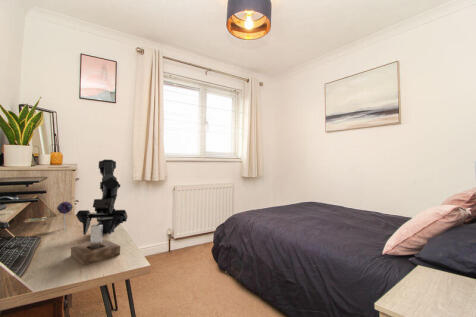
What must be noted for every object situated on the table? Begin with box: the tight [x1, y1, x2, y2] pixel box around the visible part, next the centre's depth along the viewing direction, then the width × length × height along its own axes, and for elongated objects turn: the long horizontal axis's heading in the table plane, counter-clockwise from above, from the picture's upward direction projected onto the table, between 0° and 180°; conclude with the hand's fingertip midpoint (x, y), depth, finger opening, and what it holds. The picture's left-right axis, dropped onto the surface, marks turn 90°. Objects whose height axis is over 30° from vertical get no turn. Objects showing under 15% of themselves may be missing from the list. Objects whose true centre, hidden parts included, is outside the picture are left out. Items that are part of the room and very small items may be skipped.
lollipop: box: [57, 201, 74, 230], centre depth 127 cm, size 7×7×15 cm
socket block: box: [70, 239, 121, 266], centre depth 92 cm, size 13×13×4 cm
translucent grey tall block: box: [89, 223, 103, 250], centre depth 93 cm, size 4×4×12 cm
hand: (96, 234), depth 93 cm, fingers open, 9 cm apart
